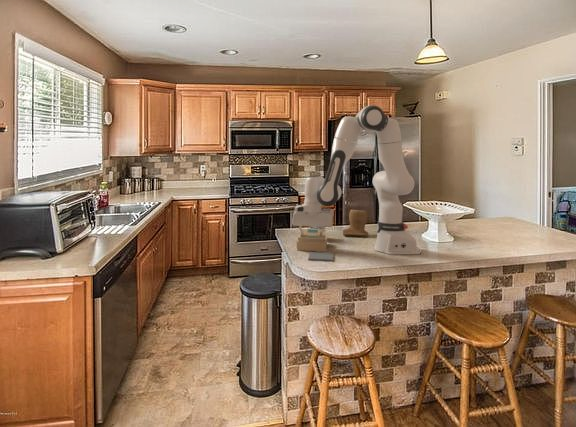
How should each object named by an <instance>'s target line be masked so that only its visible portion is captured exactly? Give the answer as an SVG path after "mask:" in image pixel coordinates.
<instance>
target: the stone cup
mask: <svg viewBox="0 0 576 427" xmlns="http://www.w3.org/2000/svg"><path fill="white" fill-rule="evenodd" d="M348 218H349V219H348V221H349V228H347V229H345V228H344V229H342V236H350V237H359V236H360V237H362V236H369V232H368V231H366V230H365V226H366V224H367V221H368V212H367V211H366V210H358V209H350V211H349V214H348Z"/></svg>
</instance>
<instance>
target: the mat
mask: <svg viewBox="0 0 576 427" xmlns="http://www.w3.org/2000/svg"><path fill="white" fill-rule="evenodd" d="M307 260H308V261H317V262H334V252H323V251H309V254H308V259H307Z"/></svg>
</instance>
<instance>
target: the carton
mask: <svg viewBox="0 0 576 427" xmlns="http://www.w3.org/2000/svg"><path fill="white" fill-rule="evenodd" d="M301 229H302V231H304V235H301V234H299V235H298V237H297V241H296V250H297V251H303V252H304V251H306V252H327V245H328V235H327V229H325V230H324V232H323V236H320V232H321V231H322V230H318V238H307V230H308V228H301Z"/></svg>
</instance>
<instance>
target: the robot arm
mask: <svg viewBox="0 0 576 427" xmlns="http://www.w3.org/2000/svg"><path fill="white" fill-rule="evenodd" d="M363 131H374V132H375V134H376V137H377V140H376V141H377V152H378V160H379V162H380V163H381V165H382V167H383V169H384V170H381V171H377V172H376V173H375V174H374V175H373V177H372V186H373V187H374V189H375V191H376V195H377V199H378V208H379V209H378V221H377V225H376V231H377V232H376V233H377V235H376V240H375V244H374V247H373V249H374V251H377V252H380V253H385V254H388V255H421V254H420V253H422V249H421V248H420V247H419V246H418V244H417V240H416V238H415V236H413V235H412V234H411V233H410V232H409V231H407V229H408V228H409V225H408V224H406V223H404V222H403V210H404V209H403V208H404V206H403V205H402V203H401V201H400V198H399V196H404V195H405V196H406V195H409V194H410V193H412V192H413V190H414V187H415V179H414V178H413V176H412V175H411V174H410V172H409V170H408V169H407V168H408V167H407V166H406V163H405V160H404V154H403V144H402V134H401V133H402V132H401V127H400V124H399V121H398V120H397V119H395V118H393V117H390V118H389V117H388V115H386V114H385V112H384V110H383V109H382V108H381V107H379V106H378V105H367V106H364V107H363V108H362V109H361V108H360V110H358V112H357V113H356V114H355V115H354V116H351V115H350V116H344V117H343V118H341V120H340V122H339V123H338V126H337V128H336V131H335V134H334V138H333V142H332V146H331V154H330V155H331V156H330V161H329V165H328V169H327V172H326V175H325V178H324V177H323V176H322V175H319V174H318V175H311V176H308V177H307V178H306V179H305V182H304V200H303V203H302V204H298V205H296V206H295V207H294V210H295V211H294V212H293V215H292V218H291V224H292V226H294V227H298V229H299V231H300V235H304V231H302V229H303V227H310V226H312V227H322V229H323V230H322V231H321V232H320V236H323V232H324V230H326V228H332V227H333V217H334V214H335V213H334V210H333V209H332V208H325V207H331V206H333V205H335V204H336V203H337V202H338V201H339V200H340V199H341V197H342V192H343V191H342V188H341V187H340V185H339V182H340V178H341V175H342V171H343V169H344V167H345V165H346V164H347V162H348V161H349V160H350V159H351V158H352V157H353V155H354V153H355V150H356V147H357V145H358V144H357V143H358V140H359V137H360V136H361V133H363ZM323 206H324V208H323Z"/></svg>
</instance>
